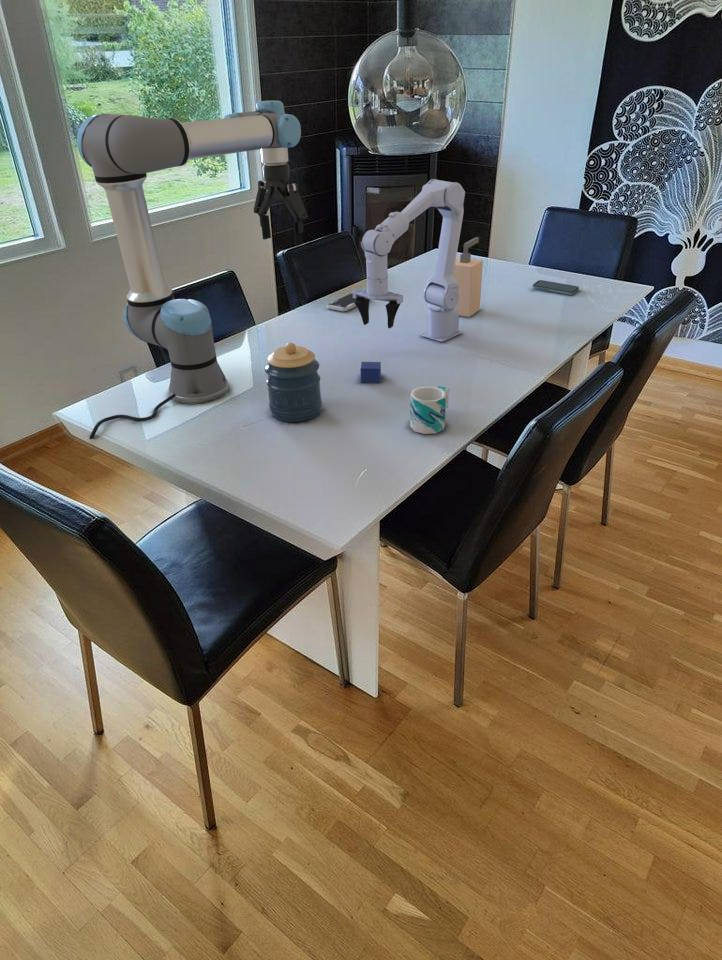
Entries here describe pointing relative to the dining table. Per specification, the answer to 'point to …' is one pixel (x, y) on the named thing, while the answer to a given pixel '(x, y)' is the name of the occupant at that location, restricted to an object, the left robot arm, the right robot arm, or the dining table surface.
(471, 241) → the soap dispenser
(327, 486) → the dining table surface
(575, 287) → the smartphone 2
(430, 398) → the mug
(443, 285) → the right robot arm
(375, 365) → the block
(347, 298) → the smartphone
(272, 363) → the canister
